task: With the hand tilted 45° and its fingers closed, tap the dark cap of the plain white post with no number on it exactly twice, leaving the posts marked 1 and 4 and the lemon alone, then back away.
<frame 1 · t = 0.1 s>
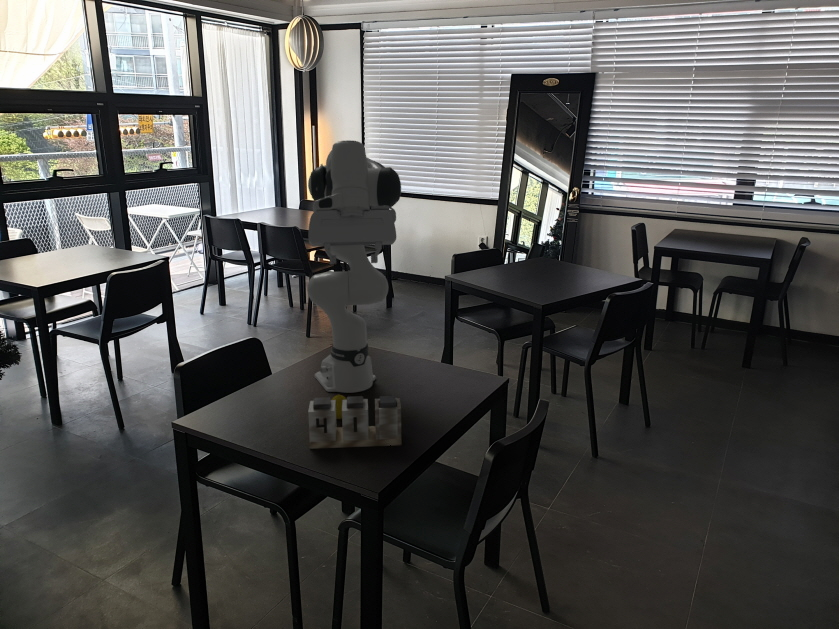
hand: (353, 263, 148), 54 cm above the table, tool tilted 30°, fingers open, 8 cm apart
plain button: (387, 410, 179), point 9 cm above the table, slide at 0.2 cm
button panel: (356, 438, 181), on the table
lemon: (339, 419, 193), on the table
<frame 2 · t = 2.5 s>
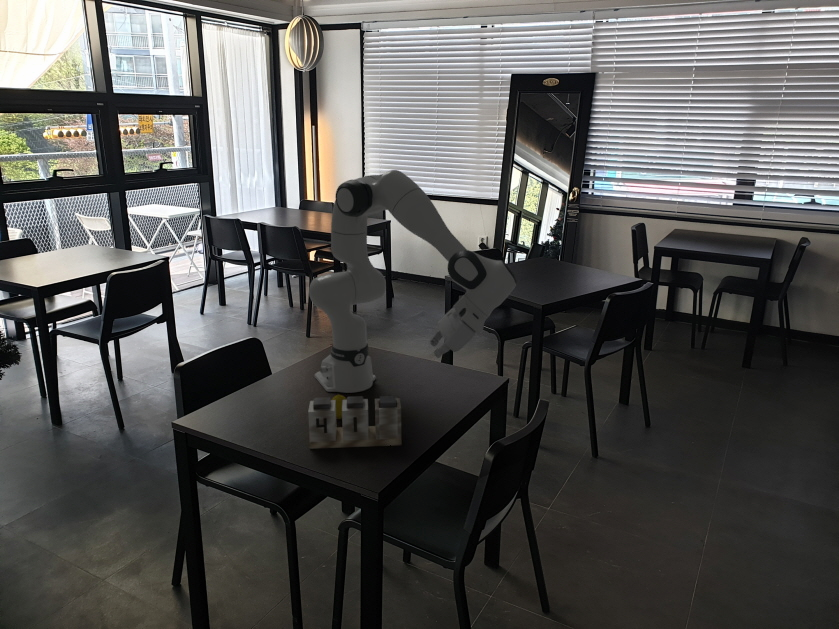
hand: (433, 349, 175), 26 cm above the table, tool tilted 45°, fingers open, 8 cm apart
nothing on the table moved.
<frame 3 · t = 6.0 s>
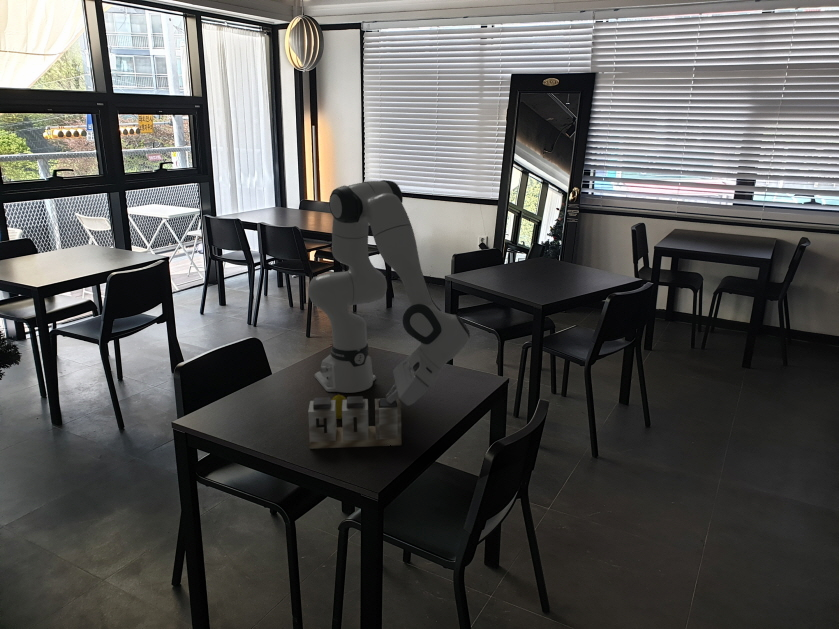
hand: (387, 400, 178), 12 cm above the table, tool tilted 45°, fingers closed, pressing on plain button
plain button: (387, 412, 179), point 8 cm above the table, slide at 1.0 cm, touching gripper
everything else where it was.
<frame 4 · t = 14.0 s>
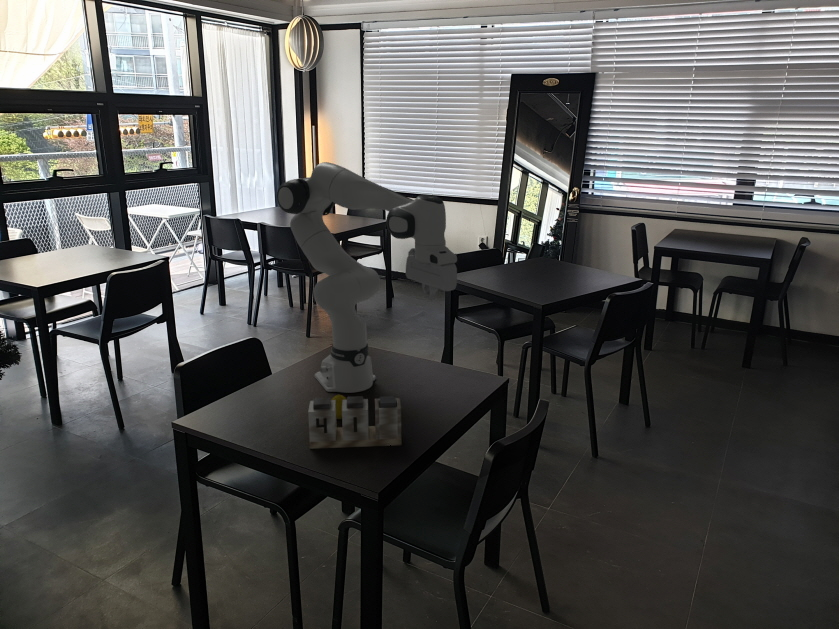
hand: (429, 299, 189), 35 cm above the table, tool pointing down, fingers closed
plain button: (387, 410, 179), point 8 cm above the table, slide at 0.3 cm
everything else where it was.
at the end: plain button slide at 0.3 cm; lemon moved 0.2 cm from its start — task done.
